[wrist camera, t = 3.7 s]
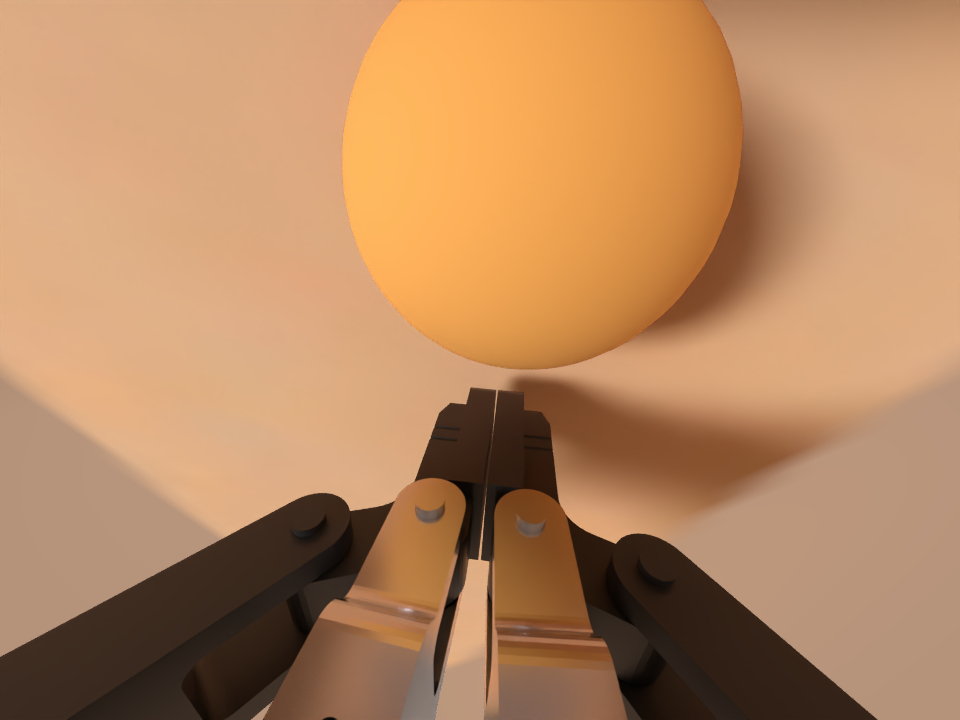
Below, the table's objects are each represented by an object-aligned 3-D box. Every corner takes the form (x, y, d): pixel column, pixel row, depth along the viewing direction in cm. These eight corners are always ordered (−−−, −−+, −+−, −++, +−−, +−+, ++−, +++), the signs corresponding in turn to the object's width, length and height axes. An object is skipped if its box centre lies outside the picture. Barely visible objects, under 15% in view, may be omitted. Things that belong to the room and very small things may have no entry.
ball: (345, 410, 7) (414, 230, 10) (658, 449, 7) (621, 251, 10) (73, -75, 2) (374, -104, 6) (1160, 2, 2) (761, -79, 5)
